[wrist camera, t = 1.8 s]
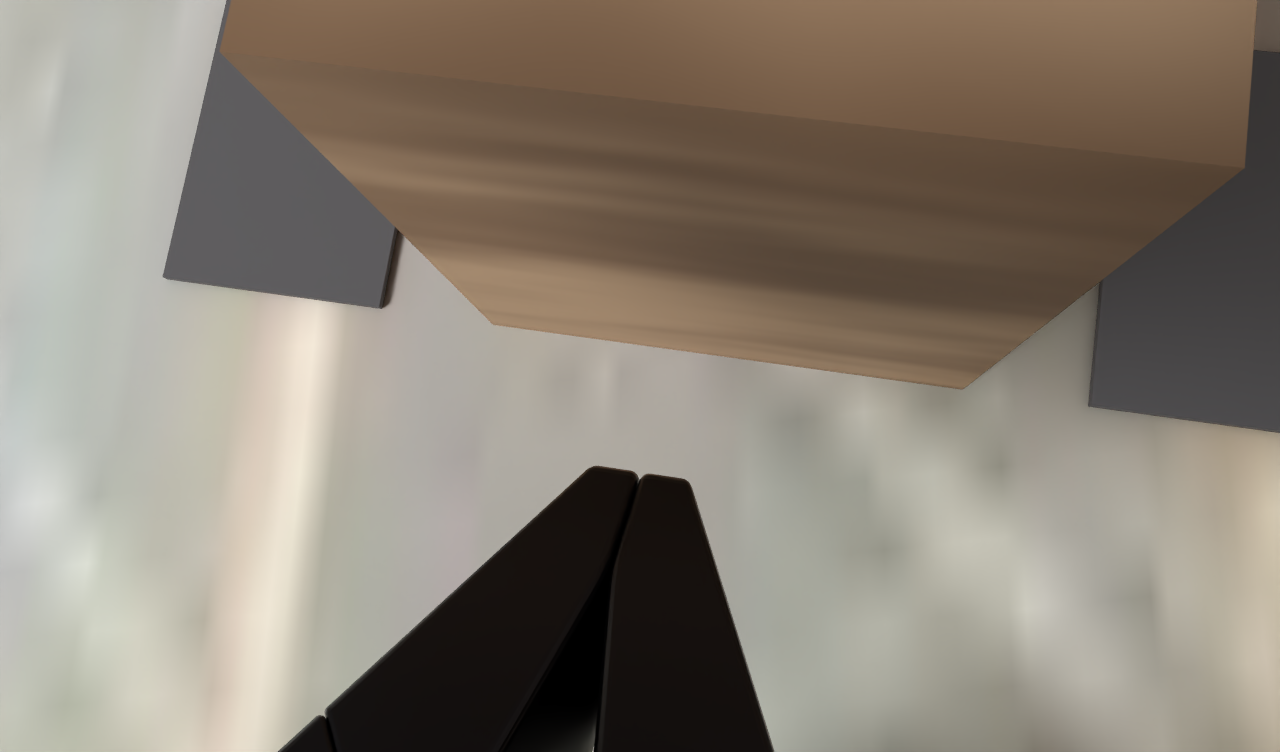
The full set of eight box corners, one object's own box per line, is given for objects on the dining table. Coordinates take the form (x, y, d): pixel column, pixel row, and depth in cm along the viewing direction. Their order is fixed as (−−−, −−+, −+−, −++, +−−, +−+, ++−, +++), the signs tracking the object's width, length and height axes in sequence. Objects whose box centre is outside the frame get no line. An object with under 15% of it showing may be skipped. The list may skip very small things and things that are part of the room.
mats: (1347, 441, 22) (1352, 441, 22) (167, 279, 25) (162, 276, 25) (1368, 66, 23) (1373, 62, 23) (243, -49, 26) (239, -54, 26)
